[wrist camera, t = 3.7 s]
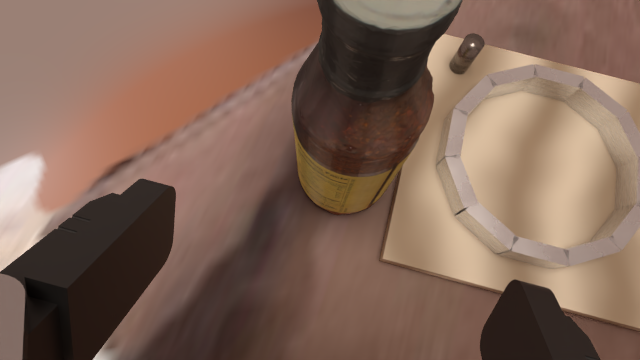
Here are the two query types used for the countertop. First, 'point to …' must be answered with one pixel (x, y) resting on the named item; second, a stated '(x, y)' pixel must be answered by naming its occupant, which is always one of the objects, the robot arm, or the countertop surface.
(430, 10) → the sauce bottle
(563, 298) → the maple board
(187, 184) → the countertop surface
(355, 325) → the countertop surface
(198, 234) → the countertop surface
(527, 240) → the white segmented ring
